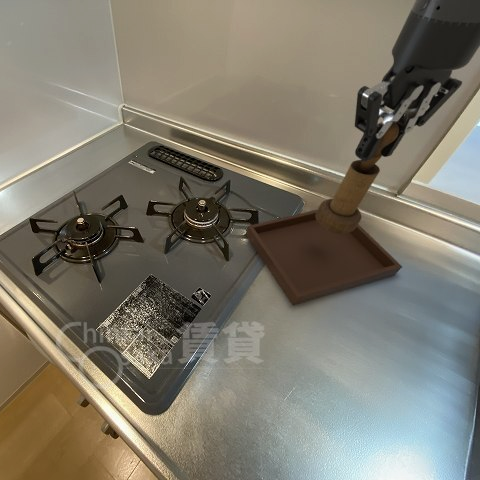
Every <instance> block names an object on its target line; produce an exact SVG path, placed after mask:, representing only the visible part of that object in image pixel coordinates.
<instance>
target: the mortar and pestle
mask: <svg viewBox="0 0 480 480" xmlns="http://www.w3.org/2000/svg"><path fill="white" fill-rule="evenodd" d="M382 122H383V121H381V122H378V124H377V125H378V126H380V125H381V123H382ZM398 134H399V127H398V125H397V124H396V123H394V122H393V123H392V124H391V126H390V127H389V128H388V130H387V131H386V133H385V134H384V135H383V136H382V140H381V142H380V143H379V145H378V147H377V149H376V150H375V152H374V154H373V156H372V158H371V159H370V160H368V161H362V160H361V159H356V160H353V161H352V162H351V164H350V165H349V167H348V169H347V171H346V173H345V175H344V177H343V179H342V181H341V183H340V184H339V186H338V189H337V190H336V192H335V194H334V196H333V197H332V198H328V199H324V200H323V201H322V202H321V203H320V204H319V206H318V208H317V209H316V210H317V212H316V215H315V217H316V220H317V222H318V223H319V224H320V225H321V226H322V227H323V228H325V229H326V230H328V231H331V232H334V233H338V234H347V233H350V232H352V231H353V230H354V229H355V228H356V227H357V225H358V224H360V222H361V220H362V213H361V211H360V210H359V206H360V204H361V202H362V201H363V199H364V198H365V196H366V194H367V193H368V191H369V189H370V188H371V186H372V185H373V183H374V181H375V180H376V178H377V177H378V175H379V173H380V172H381V168H380V167H379V165H377V162H378V161H379V160H381V158H382V157H383V156H382V154H381V150H382V149H383V147H385V146H386V145H388V144H390V143H391V142H393V141H394V140H395V139H396V138H397V136H398Z"/></svg>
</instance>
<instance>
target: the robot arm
mask: <svg viewBox="0 0 480 480" xmlns="http://www.w3.org/2000/svg"><path fill="white" fill-rule="evenodd" d="M479 48H480V0H415V1H414V3H413V5H412V7H411V10H410V12H409V14H408V15H407V17H406V19H405V22H404V24H403V26H402V27H401V30H400V32H399V35H398V37H397V38H396V41H395V43H394V45H393V47H392V50H391V56H392V59H393V63H392V65H391V67H390V68H389V69H388V71H387V72H386V73H385V75H383V78H382V79H381V82H379V83H377V84H376V85H374V86H372V87H369V86H366V85H363V86H362V87H360V88H359V90H358V91H357V95H356V106H355V117H354V127H355V128H356V129H357V130H359V131H360V132H362V133H363V134H362V136H361V138H360V140H359V142H358V144H357V146H356V148H355V152H354V154H355V157H357V158H358V159H359V160H362V161H368V160H370V159H371V158H372V156H373V154H374V152H375V150H376V149H377V147H378V145H379V143H380V142H381V140H382V136H383V135H384V134H385V133H386V131H387V130H388V128H389V127H390V126H391V124H392V123H393V122H394V123H396V124H397V125H398V127H399V134H398V136H397V138H396V139H395V140H394V141H393V142H391V143H390V144H388V145H386V146H385V147H383V149H382V150H381V154H382V157H384V158H386V157H387V158H388V157H390V156H392V155H393V153H394V152H395V150H396V149H397V147H398V146H399V144H400V142H401V141H402V140H403V138H404V136H405V135H406V134H408V133H410V132H411V131H412V130H413V129H414V127H415V126H417V127H423V126H424V125H425V124H426V123H427V122H428V121H429V120H430V119H431V118H432V117H433V116H434V115H435V114H436V113H437V112H438V111H439V109H440V108H442V106H443V105H444V104H445V103H446V102H447V101H448V100H450V98H451V97H452V96H453V95H454V94H455V93H456V92H457V91H458V90H459V88H461V86H462V84H463V81H462V80H460V79H458V78H456V77H453V76H452V73H453V71H455V70H459V69H463V68H464V67H466V66H467V65H468V64H469V63H470V62H471V61H472V59H473V58H474V56H475V54H476V53H477V51H478V50H479ZM386 107H387V108H388V109H387V108H386ZM389 109H390V110H389ZM391 110H392V111H391ZM380 118H381V119H382V121H381V122H382V123H381V122H380V123H381V125H380V126H378V125H377V124H379V120H380Z"/></svg>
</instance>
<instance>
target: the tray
mask: <svg viewBox="0 0 480 480" xmlns="http://www.w3.org/2000/svg"><path fill="white" fill-rule="evenodd" d="M317 210H318V209H314V210H310V211H305V212H301V213H297V214H293V215H289V216H284V217H280V218H276V219H272V220H267V221H263V222H258V223H255V224H249V225H247V228H246V232H245V237H246V239H248V242H250V244H251V245H252V247H253V248H254V250H255V251H256V253H257V254H258V255H259V257H260V259H261V260H262V262H263V263H264V265H265V266H266V268H267V269H268V271H269V272H270V274H271V275H272V276H273V278H274V280H275V281H276V283H277V284H278V286H279V287H280V289H281V290H282V291H283V293H284V295H285V296H286V298H287V299H288V301H289V302H290V304H292V306H295V305H299V304H304V303H306V302H309V301H313V300H316V299H320V298H323V297H326V296H329V295H333V294H337V293H340V292H343V291H346V290H350V289H353V288H356V287H360V286H364V285H366V284H370V283H374V282H378V281H381V280H384V279H387V278H391V277H394V276H396V275H397V273H398V272H399V271H400V270H401V269H402V268H403V265H402V264H400V263H399V261H397V260H396V259H395V257H393V256H392V254H390V253H389V252H388V251H387V250H386V249H385V248H384V247H383V246H382V245H381V244H380V243H379V242H377V241H376V239H375V238H374V237H373V236H371V235H370V233H368V232H367V231H366V230H365V229H364V228H363V227H362V226H361V225H360V223H358V225H357V227H356V228H355V229H354V230H353V231H352V232H350V233H347V234H338V233H334V232H331V231H328V230H326V229H325V228H323V227H322V226H321V225H320V224H319V223H318V222H317V220H316V217H315V215H316V212H317Z"/></svg>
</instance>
